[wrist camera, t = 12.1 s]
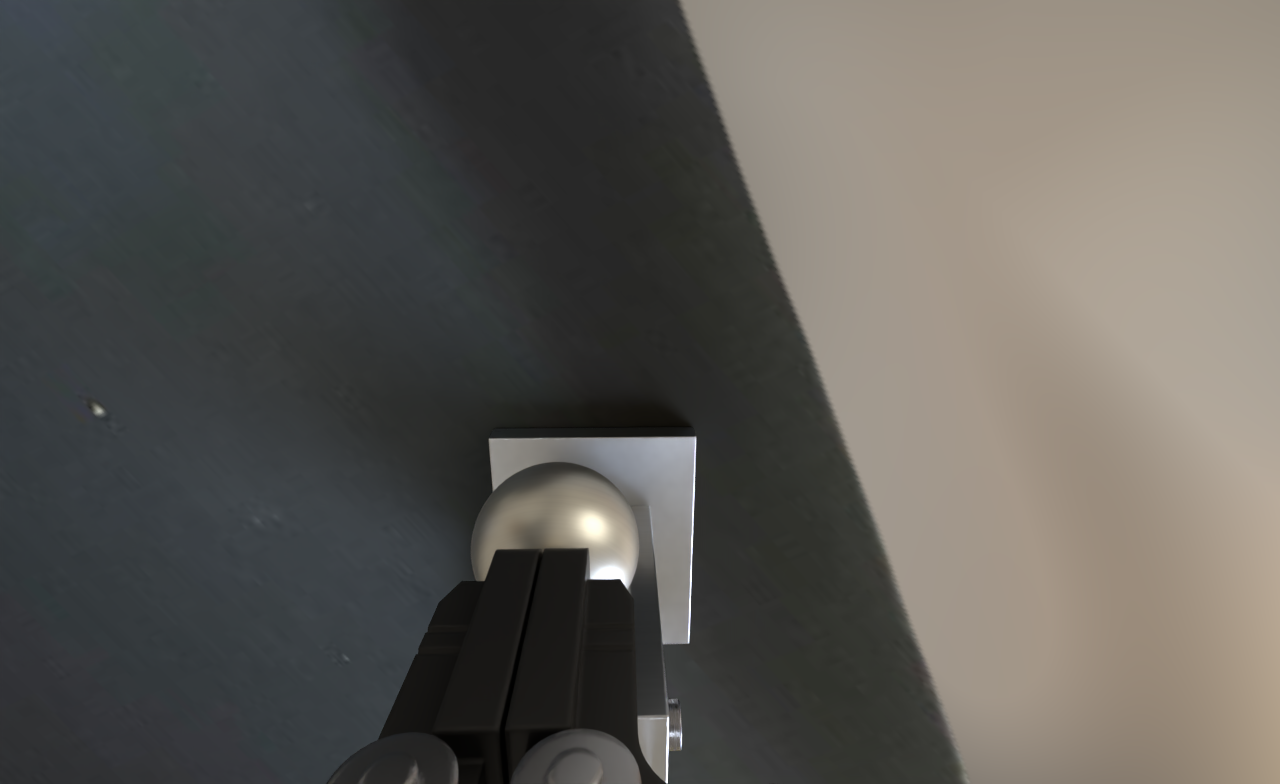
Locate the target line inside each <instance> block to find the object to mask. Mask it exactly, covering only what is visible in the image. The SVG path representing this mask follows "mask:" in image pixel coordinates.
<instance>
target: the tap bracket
mask: <svg viewBox="0 0 1280 784" xmlns="http://www.w3.org/2000/svg"><path fill="white" fill-rule="evenodd" d="M696 438H697V437H696V434H695V431H694V428H693V427H633V428H504V429H493V431H492V433H491V435H490V437H489V439H488V441H489V453H490V465H491V478H492V490H493V491H494V490H495V489H496V488H497V487H498V486H499V485H500V484H501V483H503V482H504V481H505V480H506V479H508V478H509V477H510V476H512V475H514V474H515V473H517V472H519V471H521V470H523V469H525V468H528V467H530V466H533V465H537V464H541V463H548V462H568V463H574V464H578V465H582V466H585V467H588V468H590V469H593V470H595V471H596V472H598V473H600V474H601V475H603V476H604V477H606V478H607V479H609V480H610V481H611V482H612V483H613V484H614V485H615V486H616V487H617V488H618V489H619V490H620V491H621V493H622V494H623V495H624V497H625V498H626V500H627V501H628V503H629V505H630V507H631V509H632V511H633V514H634V517H635V520H636V523H637V527H638V534H639V557H638V563H637V568H636V571H635V574H634V577H633V579H632V582H631V584H630V586H629V588H628V591H629V593H630V594H631V596H632V597H633V599H634V621H635V653H636V684H637V716H638V737H639V744H640V747H641V750H642V753H643V755H644V757H645V759H646V761H647V763H648V764H649V766H650V767H651V768H652V770H653V771H654V772H655V773H656V774H657V775H658V776H659V777H660V778H661V779H662V780H663V781H664V782H666V783H667V784H668V754H669V751H680V750H681V748H682V719H681V707H680V702H679V700H678V699H668V696H667V686H666V675H665V664H664V653H663V644H689V638H690V609H691V581H692V552H693V524H694V495H695V467H696Z"/></svg>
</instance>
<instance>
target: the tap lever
mask: <svg viewBox="0 0 1280 784" xmlns="http://www.w3.org/2000/svg"><path fill="white" fill-rule="evenodd" d="M545 548H589V556H590V579H621V581H622V582H623V584H624V585H625V587H626V588H627V590H628V588H629V586H630V584H631V582H632V579H633V577H634V574H635V571H636V568H637V563H638V557H639V534H638V527H637V523H636V520H635V517H634V514H633V511H632V509H631V507H630V505H629V503H628V501H627V500H626V498H625V497H624V495H623V494H622V493H621V491H620V490H619V489H618V488H617V487H616V486H615V485H614V484H613V483H612V482H611V481H610V480H609V479H607V478H606V477H604V476H603V475H601V474H600V473H598V472H596V471H595V470H593V469H590V468H588V467H585V466H582V465H578V464H574V463H568V462H548V463H541V464H537V465H533V466H530V467H528V468H525V469H523V470H521V471H519V472H517V473H515V474H514V475H512V476H510V477H509V478H508V479H506V480H505V481H504V482H503V483H501V484H500V485H499V486H498V487H497V488H496V489H495V490H494V491H493V493H492V494H491V495H490V496H489V497H488V499H487V500H486V502H485V503H484V505H483V507H482V509H481V510H480V513H479V515H478V517H477V519H476V523H475V526H474V530H473V533H472V540H471V562H472V567H473V572H474V576H475V579H476V581H485V579H486V576H487V573H488V570H489V567H490V564H491V561H492V559H493V556H494V553H495V551H496V550H497V549H542V551H544V549H545Z"/></svg>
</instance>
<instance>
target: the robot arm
mask: <svg viewBox="0 0 1280 784" xmlns="http://www.w3.org/2000/svg"><path fill="white" fill-rule="evenodd" d="M327 784H667V783H666V782H664V781H663V780H662V779H661V778H660V777H659V776H658V775H657V774H656V773H655V772H654V771H653V770H652V768H651V767H650V766H649V764H648V763H647V761H646V759H645V757H644V755H643V753H642V750H641V747H640V744H639V737H638V716H637V684H636V653H635V621H634V599H633V597H632V596H631V594H630V593H629V591H628V590H627V588H626V587H625V585H624V584H623V582H622V581H621V579H590V556H589V548H545V549H544V551H542V549H497V550H496V551H495V553H494V556H493V559H492V561H491V564H490V567H489V570H488V573H487V576H486V579H485V581H461V582H460V583H459V584H458V585H457V586H456V587H455V588H454V589H453V590H452V591H451V592H450V593H449V594H448V595H447V596H446V597H444V598H443V599H442V600H441V601H440V602H439V604H438V606H437V608H436V611H435V613H434V615H433V617H432V620H431V622H430V624H429V626H428V632H427V633H425V635H424V638H423V640H422V642H421V644H420V647H419V651H418V654H416V656H415V658H414V660H413V662H412V664H411V667H410V669H409V671H408V673H407V676H406V678H405V680H404V682H403V685H402V687H401V689H400V691H399V694H398V696H397V698H396V700H395V703H394V705H393V707H392V709H391V712H390V714H389V716H388V718H387V721H386V723H385V725H384V727H383V730H382V732H381V734H380V736H379V739H378V740H377V741H375V742H372V743H371V744H369V745H367V746H365V747H363V748H362V749H360V750H359V751H357V752H356V753H355V754H353V755H352V756H350V757H349V758H348V759H347V760H346V761H345V762H344V763H343V764H342V765H341V766H340V767H339V768H338V769H337V770H336V771H335V772H334V774H333V775H332V776H331V778H330V779H329V781H328V782H327Z"/></svg>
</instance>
